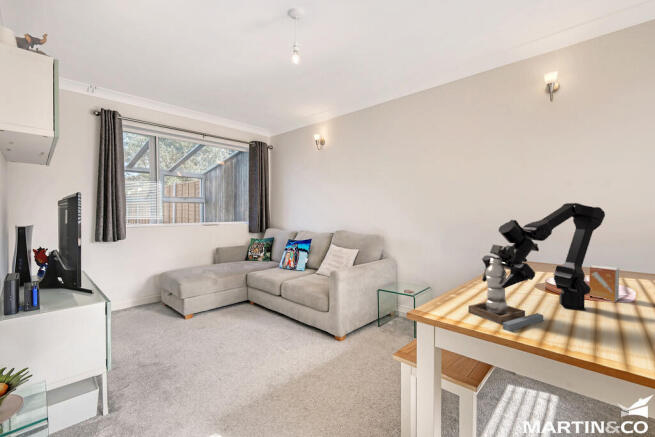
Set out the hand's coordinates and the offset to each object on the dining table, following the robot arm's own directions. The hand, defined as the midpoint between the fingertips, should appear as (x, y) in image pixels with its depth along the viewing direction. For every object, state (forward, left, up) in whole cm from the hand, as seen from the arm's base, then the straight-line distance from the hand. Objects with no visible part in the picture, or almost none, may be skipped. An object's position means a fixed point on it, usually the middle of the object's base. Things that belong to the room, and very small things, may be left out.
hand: (492, 284), depth 102 cm
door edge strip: (-9, +5, -11) cm, 15 cm away
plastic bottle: (-1, -1, -11) cm, 11 cm away
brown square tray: (-1, -1, -11) cm, 11 cm away
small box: (-43, -39, -12) cm, 59 cm away
